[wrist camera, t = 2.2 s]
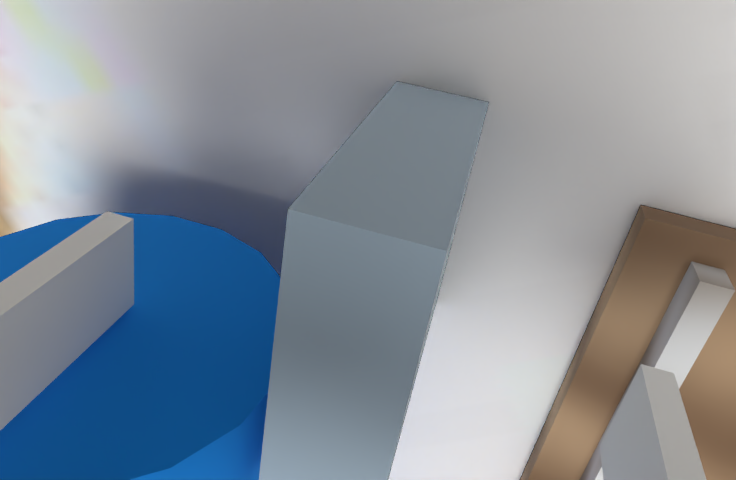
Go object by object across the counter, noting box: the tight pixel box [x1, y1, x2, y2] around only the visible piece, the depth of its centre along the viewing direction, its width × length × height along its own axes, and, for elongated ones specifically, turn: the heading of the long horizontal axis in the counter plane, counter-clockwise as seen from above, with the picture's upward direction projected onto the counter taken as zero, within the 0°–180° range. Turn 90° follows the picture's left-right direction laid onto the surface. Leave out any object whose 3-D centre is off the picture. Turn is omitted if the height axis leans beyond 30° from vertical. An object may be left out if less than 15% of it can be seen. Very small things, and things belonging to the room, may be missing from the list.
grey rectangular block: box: [259, 81, 489, 480], centre depth 18 cm, size 8×3×10 cm, turn 170°
